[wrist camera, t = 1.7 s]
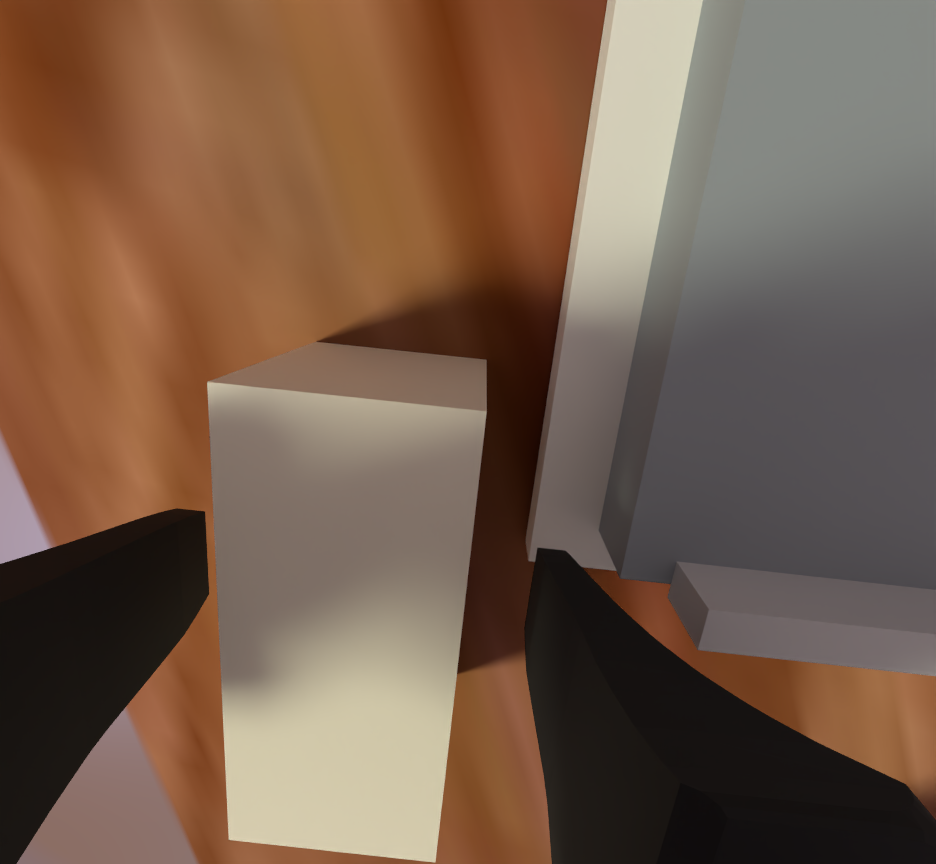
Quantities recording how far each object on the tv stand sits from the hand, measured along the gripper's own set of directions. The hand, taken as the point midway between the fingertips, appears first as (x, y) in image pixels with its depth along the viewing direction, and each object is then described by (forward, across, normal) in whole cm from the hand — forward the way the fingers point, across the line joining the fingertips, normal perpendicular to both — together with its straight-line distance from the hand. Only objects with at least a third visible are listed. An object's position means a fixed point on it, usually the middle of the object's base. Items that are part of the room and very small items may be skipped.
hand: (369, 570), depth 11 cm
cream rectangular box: (+2, 0, 0) cm, 2 cm away
